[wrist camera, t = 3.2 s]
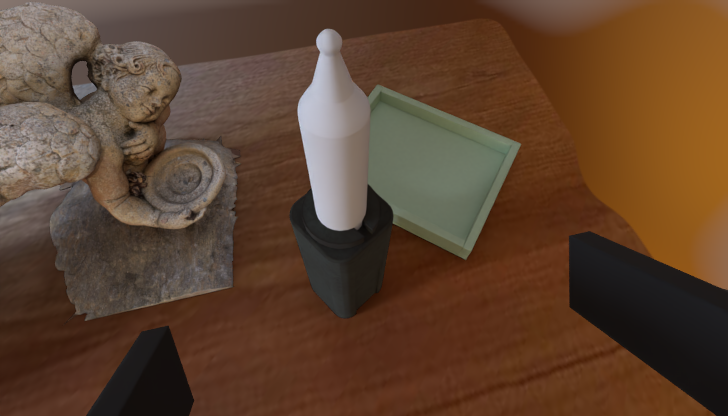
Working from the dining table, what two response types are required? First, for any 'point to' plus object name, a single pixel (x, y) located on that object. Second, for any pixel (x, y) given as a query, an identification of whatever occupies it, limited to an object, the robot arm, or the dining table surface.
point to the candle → (339, 188)
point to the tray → (435, 169)
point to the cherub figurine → (112, 165)
